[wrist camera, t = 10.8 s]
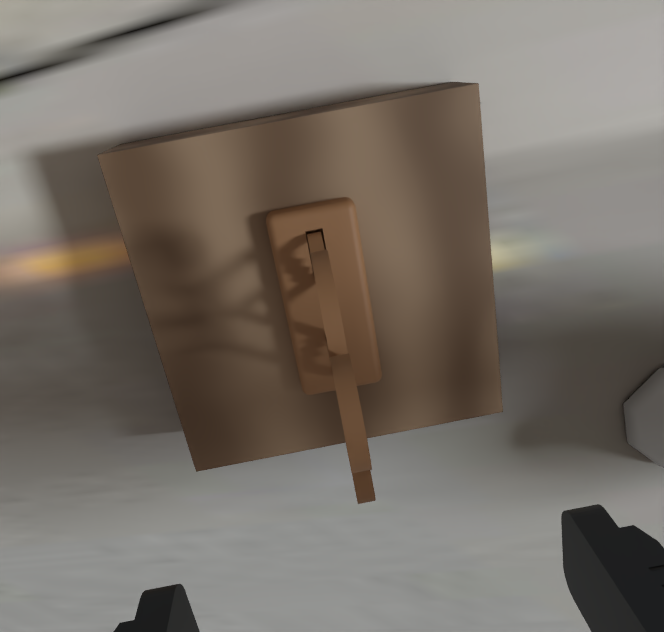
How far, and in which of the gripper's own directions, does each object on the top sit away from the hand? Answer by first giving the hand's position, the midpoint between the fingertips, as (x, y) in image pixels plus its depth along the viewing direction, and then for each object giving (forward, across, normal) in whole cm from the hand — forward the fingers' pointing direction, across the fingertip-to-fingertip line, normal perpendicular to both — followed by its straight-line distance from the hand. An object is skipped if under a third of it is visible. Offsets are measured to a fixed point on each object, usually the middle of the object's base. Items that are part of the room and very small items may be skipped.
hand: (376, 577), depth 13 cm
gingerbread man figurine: (+17, 0, 0) cm, 17 cm away
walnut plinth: (+21, 0, 0) cm, 21 cm away
